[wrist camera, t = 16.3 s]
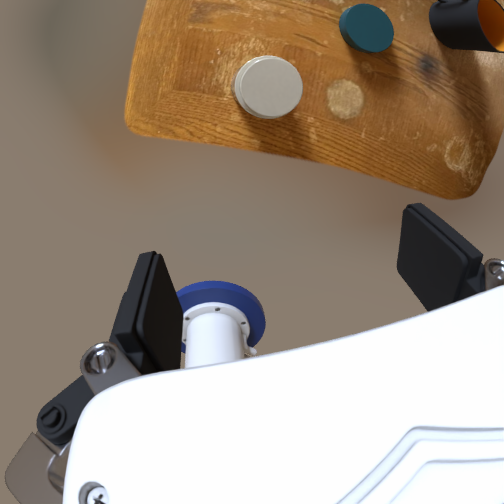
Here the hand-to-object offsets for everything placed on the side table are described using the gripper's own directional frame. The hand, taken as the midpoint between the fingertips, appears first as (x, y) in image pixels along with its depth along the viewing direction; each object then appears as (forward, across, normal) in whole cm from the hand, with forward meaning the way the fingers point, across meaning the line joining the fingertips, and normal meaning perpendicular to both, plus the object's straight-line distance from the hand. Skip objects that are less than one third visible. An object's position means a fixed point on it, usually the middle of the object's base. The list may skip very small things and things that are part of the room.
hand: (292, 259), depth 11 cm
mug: (+28, -33, -17) cm, 47 cm away
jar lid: (+26, -18, -13) cm, 34 cm away
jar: (+28, -3, -6) cm, 29 cm away
